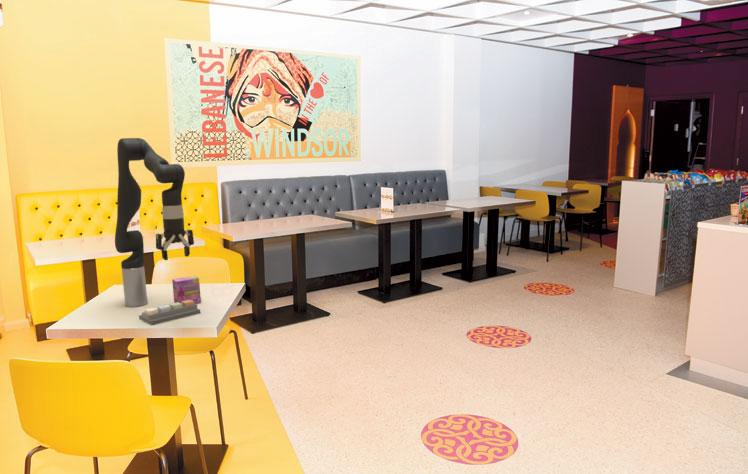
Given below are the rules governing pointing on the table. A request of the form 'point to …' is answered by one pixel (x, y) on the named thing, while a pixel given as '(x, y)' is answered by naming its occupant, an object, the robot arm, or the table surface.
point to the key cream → (151, 311)
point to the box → (186, 289)
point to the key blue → (163, 308)
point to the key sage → (175, 305)
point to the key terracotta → (187, 303)
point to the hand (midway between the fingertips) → (176, 258)
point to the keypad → (169, 315)
